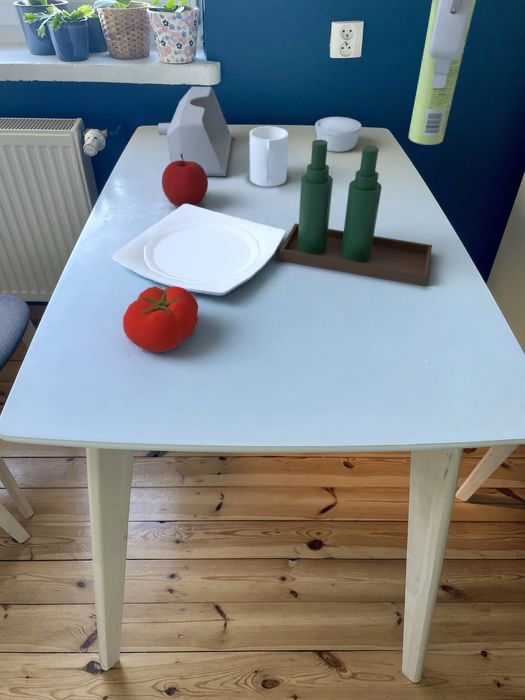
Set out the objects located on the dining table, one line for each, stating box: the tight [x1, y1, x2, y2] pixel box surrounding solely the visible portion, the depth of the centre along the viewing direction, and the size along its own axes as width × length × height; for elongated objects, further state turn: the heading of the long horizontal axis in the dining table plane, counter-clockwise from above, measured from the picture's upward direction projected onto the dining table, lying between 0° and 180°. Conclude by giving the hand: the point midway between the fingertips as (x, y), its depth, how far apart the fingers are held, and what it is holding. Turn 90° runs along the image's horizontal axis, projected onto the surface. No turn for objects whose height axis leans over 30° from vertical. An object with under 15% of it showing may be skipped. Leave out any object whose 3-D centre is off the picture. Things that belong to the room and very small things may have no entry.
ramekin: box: [314, 116, 362, 153], centre depth 134 cm, size 11×11×5 cm
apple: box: [161, 154, 209, 208], centre depth 108 cm, size 9×9×10 cm
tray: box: [279, 222, 433, 287], centre depth 95 cm, size 25×10×2 cm, turn 72°
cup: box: [249, 125, 289, 188], centre depth 116 cm, size 8×12×10 cm
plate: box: [111, 204, 287, 296], centre depth 95 cm, size 24×24×3 cm
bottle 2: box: [341, 145, 382, 262], centre depth 89 cm, size 5×5×19 cm
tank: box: [157, 86, 232, 177], centre depth 126 cm, size 25×16×12 cm, turn 179°
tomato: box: [122, 285, 199, 353], centre depth 78 cm, size 10×11×6 cm
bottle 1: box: [297, 139, 334, 255], centre depth 91 cm, size 5×5×19 cm
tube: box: [408, 0, 477, 146], centre depth 73 cm, size 6×5×20 cm
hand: (439, 80), depth 74 cm, fingers closed on tube, 5 cm apart
